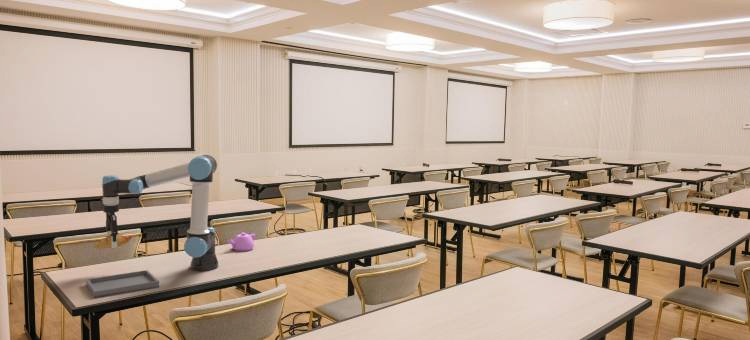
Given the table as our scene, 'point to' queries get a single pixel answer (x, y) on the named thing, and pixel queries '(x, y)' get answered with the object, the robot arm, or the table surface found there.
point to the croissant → (107, 242)
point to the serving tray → (121, 283)
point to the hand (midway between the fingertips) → (112, 245)
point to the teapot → (243, 242)
